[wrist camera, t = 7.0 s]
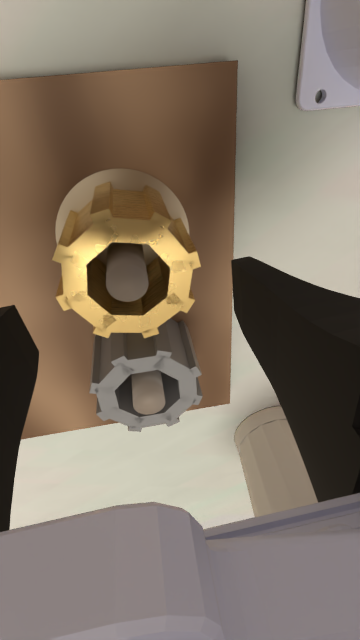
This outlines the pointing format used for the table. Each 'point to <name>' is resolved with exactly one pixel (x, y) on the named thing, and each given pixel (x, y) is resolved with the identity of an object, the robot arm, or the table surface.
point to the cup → (272, 463)
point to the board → (97, 138)
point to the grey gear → (141, 356)
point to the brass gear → (125, 227)
